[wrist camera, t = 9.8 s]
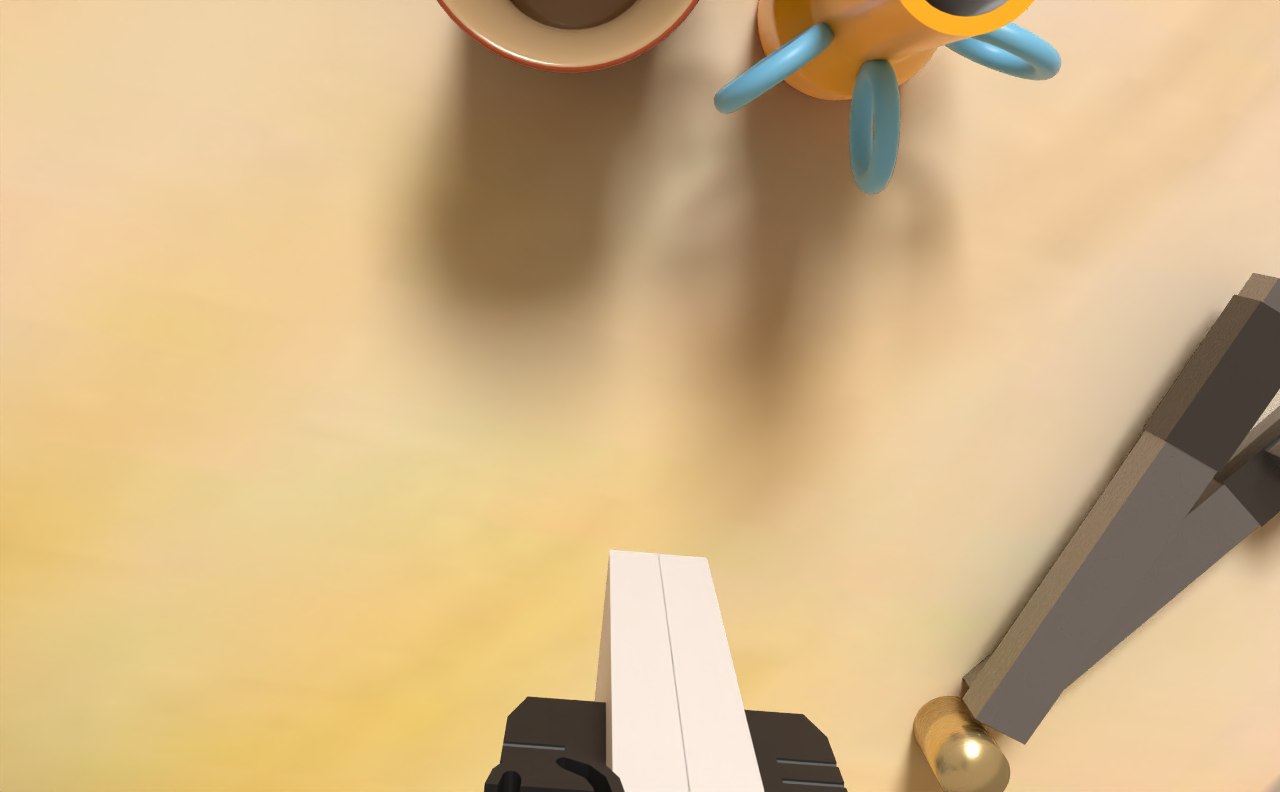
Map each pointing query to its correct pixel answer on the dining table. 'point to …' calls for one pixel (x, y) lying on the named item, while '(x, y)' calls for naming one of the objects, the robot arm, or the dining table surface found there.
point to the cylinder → (880, 60)
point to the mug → (568, 29)
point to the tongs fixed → (1221, 517)
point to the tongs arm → (1136, 512)
